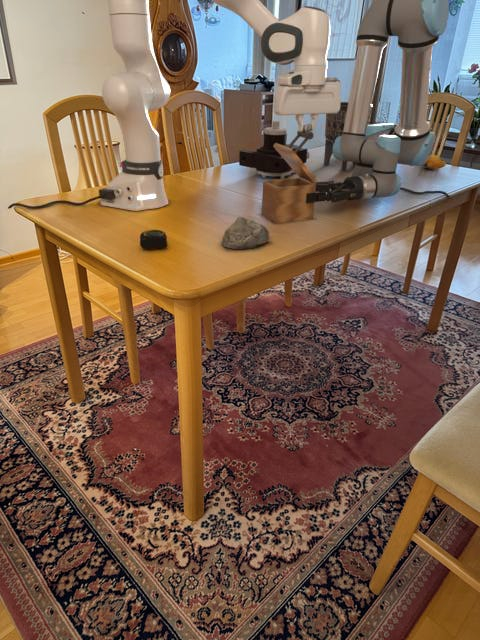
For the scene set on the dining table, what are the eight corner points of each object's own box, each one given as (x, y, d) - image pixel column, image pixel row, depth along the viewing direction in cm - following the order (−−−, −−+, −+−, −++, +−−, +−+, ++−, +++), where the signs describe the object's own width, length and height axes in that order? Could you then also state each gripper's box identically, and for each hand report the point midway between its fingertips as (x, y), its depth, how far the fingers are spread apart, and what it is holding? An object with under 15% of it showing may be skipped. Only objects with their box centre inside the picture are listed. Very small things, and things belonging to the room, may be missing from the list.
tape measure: (140, 252, 115) (139, 238, 113) (141, 242, 120) (140, 229, 119) (167, 251, 116) (166, 237, 114) (167, 241, 121) (166, 228, 120)
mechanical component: (240, 120, 182) (283, 115, 202) (239, 174, 192) (280, 164, 212) (283, 126, 170) (325, 120, 190) (280, 183, 180) (320, 171, 200)
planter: (313, 167, 208) (319, 103, 195) (331, 160, 222) (338, 101, 209) (353, 173, 199) (362, 107, 185) (369, 166, 213) (379, 104, 199)
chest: (275, 223, 137) (277, 188, 132) (261, 214, 145) (263, 180, 140) (312, 218, 142) (316, 184, 137) (297, 210, 150) (300, 177, 144)
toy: (420, 162, 205) (414, 155, 217) (422, 176, 207) (416, 168, 220) (446, 154, 201) (438, 147, 214) (448, 168, 204) (440, 161, 217)
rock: (255, 233, 128) (256, 211, 124) (276, 242, 122) (278, 219, 119) (217, 244, 120) (217, 220, 117) (239, 254, 115) (239, 230, 111)
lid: (288, 151, 128) (310, 125, 127) (272, 146, 135) (293, 121, 134) (315, 184, 137) (335, 160, 136) (298, 176, 144) (318, 154, 143)
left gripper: (335, 77, 131) (330, 128, 138) (272, 77, 124) (270, 131, 131) (347, 77, 126) (341, 131, 133) (282, 78, 119) (279, 134, 126)
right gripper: (340, 169, 156) (282, 173, 148) (381, 184, 138) (318, 190, 131) (337, 191, 160) (281, 196, 152) (377, 208, 142) (315, 215, 134)
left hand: (305, 131), depth 132 cm, fingers closed, pressing on lid
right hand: (298, 193), depth 141 cm, fingers closed on chest, 10 cm apart
